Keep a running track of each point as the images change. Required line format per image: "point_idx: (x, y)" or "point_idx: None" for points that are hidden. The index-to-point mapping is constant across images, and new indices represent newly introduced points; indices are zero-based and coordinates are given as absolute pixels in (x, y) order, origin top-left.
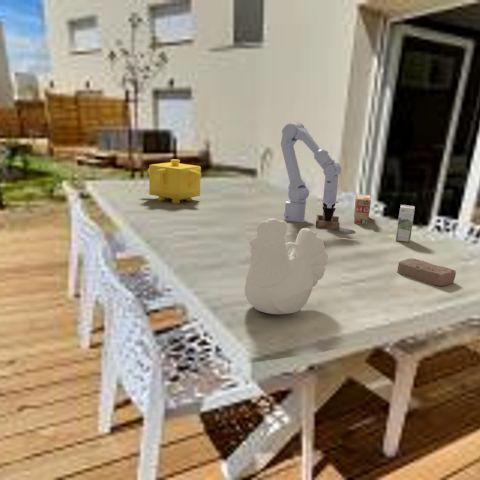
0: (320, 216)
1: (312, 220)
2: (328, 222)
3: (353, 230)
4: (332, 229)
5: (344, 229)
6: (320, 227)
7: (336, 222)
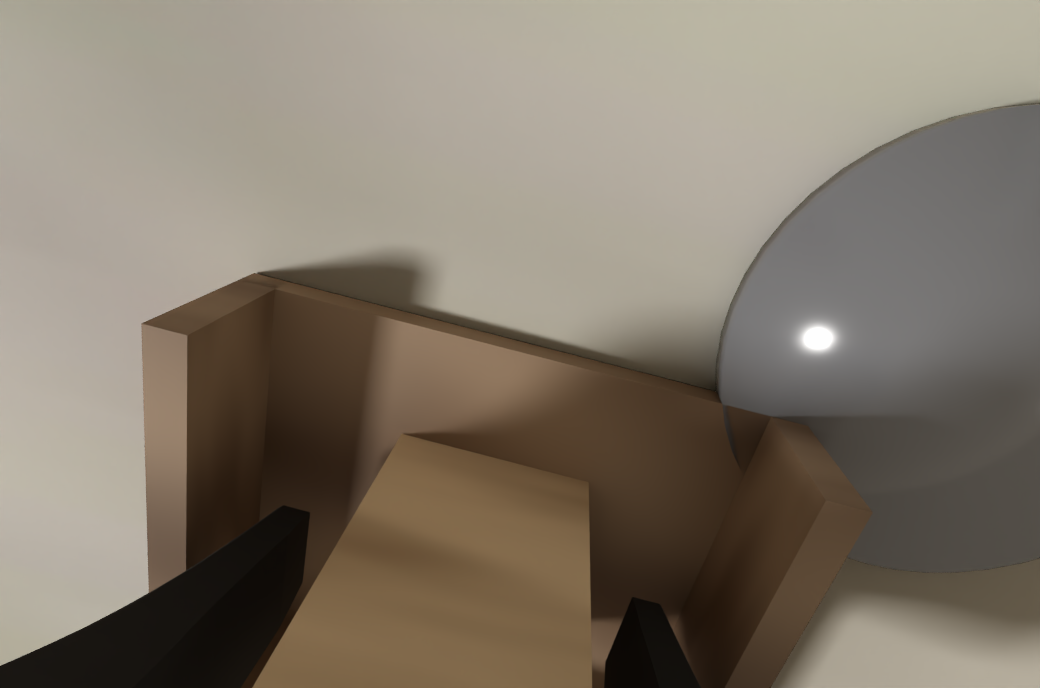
0: None
1: None
2: (757, 684)
3: (967, 119)
4: None
5: (841, 316)
6: None
7: (839, 569)
